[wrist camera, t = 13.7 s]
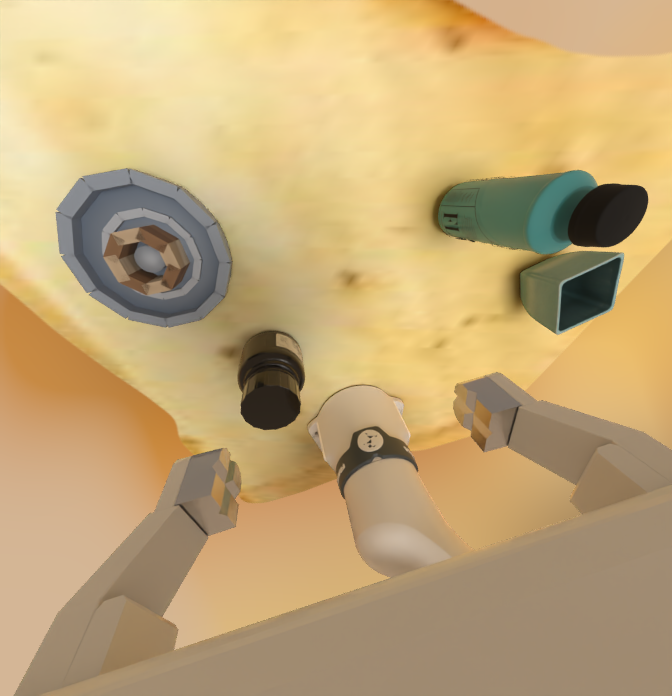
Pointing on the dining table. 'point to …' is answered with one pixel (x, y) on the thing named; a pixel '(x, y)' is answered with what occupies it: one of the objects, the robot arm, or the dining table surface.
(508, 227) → the beverage bottle
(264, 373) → the ink bottle
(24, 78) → the dining table surface
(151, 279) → the bead loop
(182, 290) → the groove tray
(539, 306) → the flower pot
